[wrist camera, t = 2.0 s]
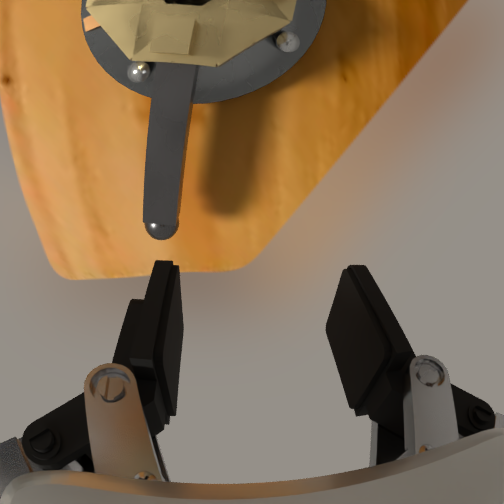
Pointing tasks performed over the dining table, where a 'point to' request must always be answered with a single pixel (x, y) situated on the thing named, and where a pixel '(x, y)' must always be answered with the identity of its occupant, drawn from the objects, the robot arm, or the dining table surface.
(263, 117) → the dining table surface
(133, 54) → the castle nut fixture
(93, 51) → the cap plate
